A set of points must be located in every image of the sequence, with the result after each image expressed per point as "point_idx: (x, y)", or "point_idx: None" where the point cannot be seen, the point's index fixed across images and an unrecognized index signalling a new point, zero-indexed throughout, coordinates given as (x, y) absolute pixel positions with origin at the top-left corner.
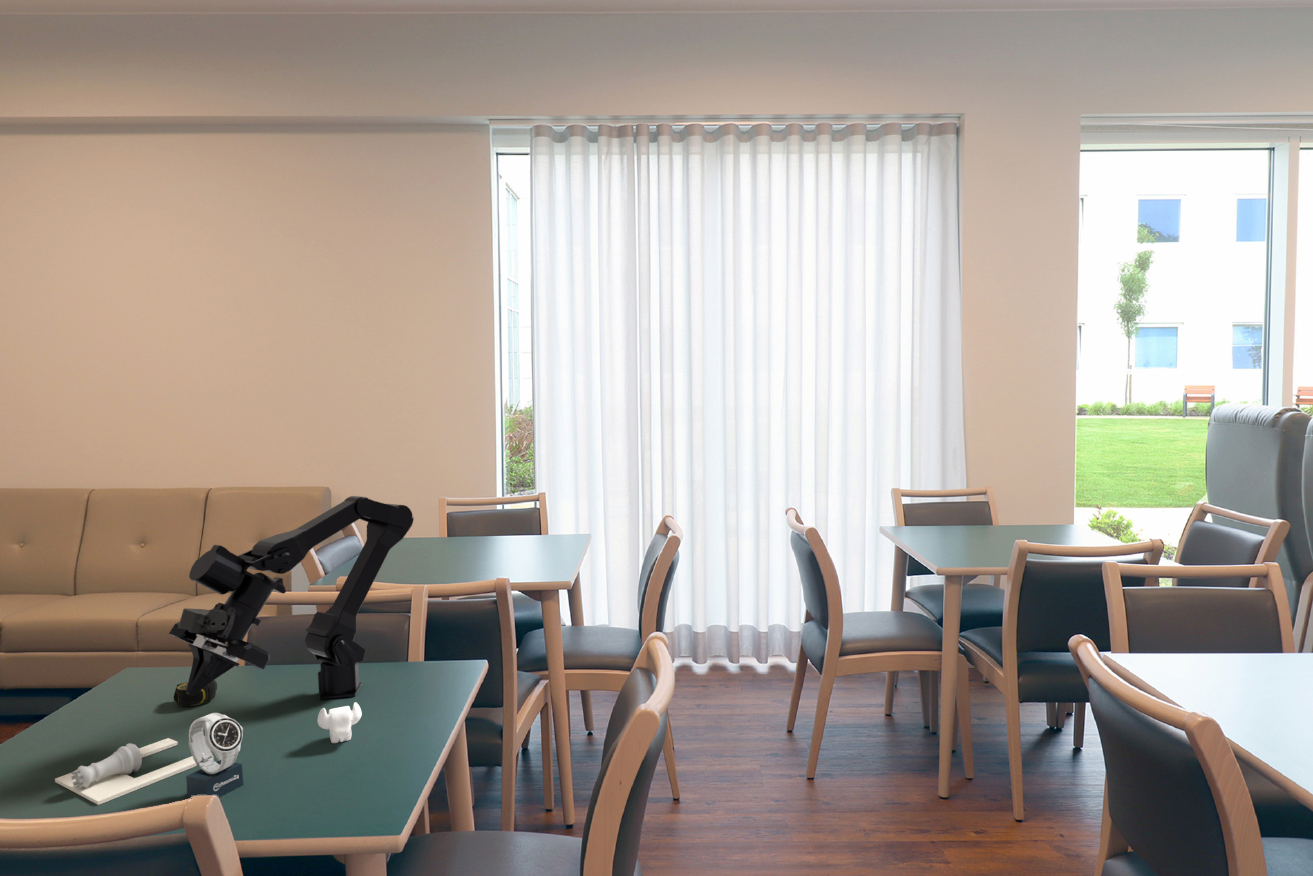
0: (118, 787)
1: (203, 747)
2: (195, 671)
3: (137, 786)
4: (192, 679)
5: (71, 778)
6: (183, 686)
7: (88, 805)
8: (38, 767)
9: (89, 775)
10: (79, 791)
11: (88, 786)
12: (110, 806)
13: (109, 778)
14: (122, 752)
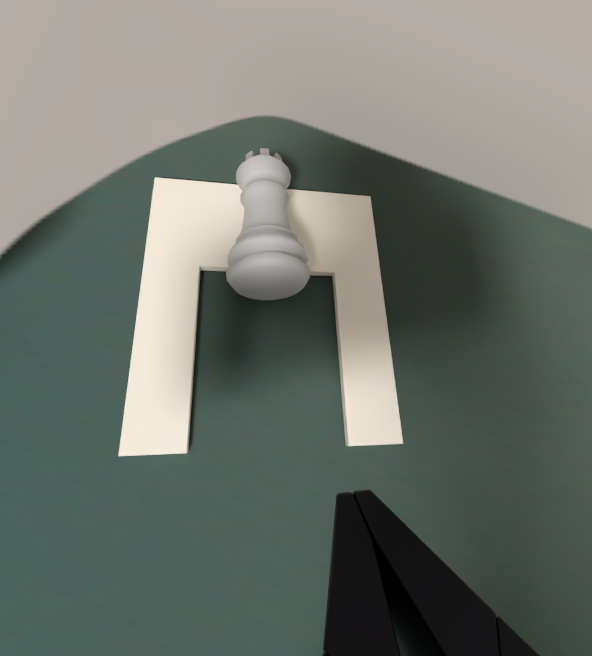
0: (184, 226)
1: None
2: (439, 642)
3: (145, 249)
4: (392, 564)
5: (340, 209)
6: None
7: (178, 176)
8: (477, 220)
9: (238, 173)
10: None
11: None
12: (122, 190)
13: None
14: (255, 233)
